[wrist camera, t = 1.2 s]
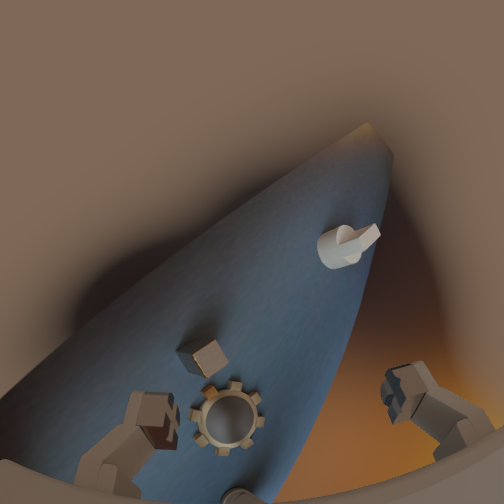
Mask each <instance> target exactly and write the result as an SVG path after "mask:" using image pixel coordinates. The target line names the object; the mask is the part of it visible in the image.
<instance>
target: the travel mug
mask: <svg viewBox="0 0 504 504" xmlns="http://www.w3.org/2000/svg"><path fill="white" fill-rule="evenodd" d="M221 504H267V503H266V502H264V501H262V500H261V499H259V498H258V497H256V496H255V495H253V494H252V493H250V492H249V491H247V490H246V489H244V488H233V489H231V490H229V491H227V492H226V493H225V494H224V495H223V497H222V499H221Z"/></svg>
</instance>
